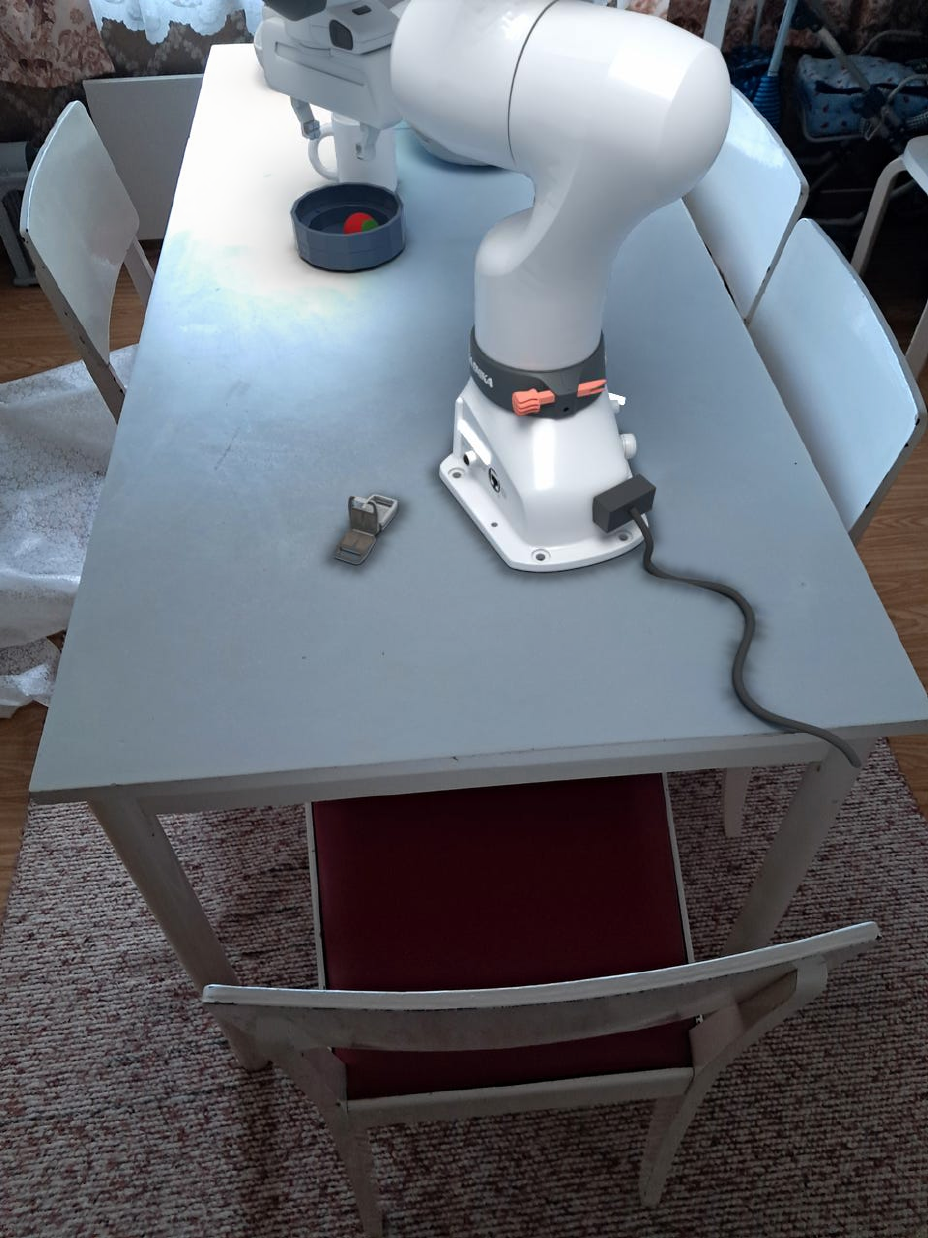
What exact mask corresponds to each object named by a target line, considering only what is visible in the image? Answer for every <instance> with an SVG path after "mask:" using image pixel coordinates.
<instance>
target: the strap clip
mask: <svg viewBox="0 0 928 1238" xmlns="http://www.w3.org/2000/svg"><path fill="white" fill-rule="evenodd" d="M354 502H358V503H361V504H363V505H362V507H359V506H356V505H355V503H354ZM380 503H381V504H380ZM383 504H385V505H383ZM386 505H388V506H386ZM389 506H390V507H389ZM347 509H348V519H349V526H350V527H351V528H352V529H348V531H347V532H345V534H344V535H343V537H342V539H340V540H339V541H338V543H337V544H336V546H335V548H334V549H333V554H332V555H333V557H334V558H336V559H339V560H341V561H345V562H347V563H350V564H353V565H360V564H361V563H362V562H364V561H365V560H366V558H368V556H369V554H370V552H371V550H372V549H373V547H374V545H375V543H376V541H377V539H376V535H377V534H378V533H379V532H380V531H384V530H385V528H387V527H388V525H389V524H390V522H391V521H392V520H393V518H394V517H395V516H396V514H397V512H398V509H399V502H398V500H397V499H394V498H391V497H388V496H385V495H380V494H376V493H375V494H372V495H370V496H369V497H368V498H364V497H361V496H358V495H355V494H352V495H350V496H349V498H348V503H347ZM342 550H344V551H347V552H349V553H353V554H356V555H360V556H359V557H358V558H357V559H356V558H352V557H349V556H346V555H342V554H339V553H340V552H341V551H342Z"/></svg>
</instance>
